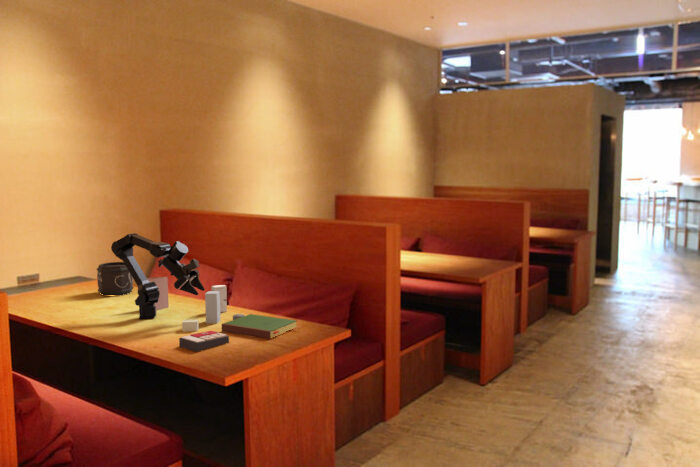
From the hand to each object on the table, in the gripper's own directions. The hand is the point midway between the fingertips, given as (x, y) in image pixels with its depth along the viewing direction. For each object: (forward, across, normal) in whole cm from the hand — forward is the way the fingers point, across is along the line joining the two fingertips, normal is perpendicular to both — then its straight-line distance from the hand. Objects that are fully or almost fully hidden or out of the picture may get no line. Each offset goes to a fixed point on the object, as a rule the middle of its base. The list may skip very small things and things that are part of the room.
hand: (201, 292), depth 263 cm
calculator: (+17, -34, +2) cm, 38 cm away
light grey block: (+13, 0, +6) cm, 14 cm away
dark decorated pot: (-36, +59, +55) cm, 88 cm away
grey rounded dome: (+21, 0, -2) cm, 21 cm away
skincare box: (+11, +19, +8) cm, 23 cm away
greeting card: (-11, +22, +29) cm, 38 cm away
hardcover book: (+30, -12, -10) cm, 34 cm away
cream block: (+9, -13, +10) cm, 19 cm away
